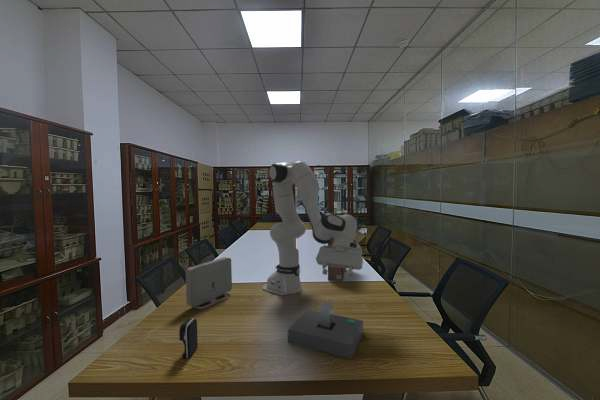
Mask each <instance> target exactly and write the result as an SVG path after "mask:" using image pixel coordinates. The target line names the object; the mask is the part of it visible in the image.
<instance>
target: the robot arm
mask: <svg viewBox="0 0 600 400" xmlns="http://www.w3.org/2000/svg"><path fill="white" fill-rule="evenodd" d="M268 175H269V178H270V180H271V181H272V182H273V184H272V192H273V201H274V202H273V203H274V207H275V213H277V214H278V215H279V216H280V219H281V220H282V221H279V222H277V223H275V224H273V225H272V226H271V228H270V230H269V236H270V238H271V240H272V241H273V242H274V243H275V244H276V246H277V250H278V261H279V264H277V265H276V266H275V269H276V271H275V272H273V273H271V274H270V275H269V276H268V277H267V279H266V283H265V284H264V285H263V286H262V290H263V291H265V292H269V293H272V294H276V295H279V296H286V295H292V294H297V293H301V291H302V290H303V287H302V283H301V278H300V273H301V269H300V268H301V267H300V266H301V265H300V255H299V253H300V252H299V249H298V248H296V246H295V242H294V240H297V239H299V238H301V237H302V236H303V235H304V234H305V233H306V230H307V229H306V228H307V227H306V224H305V223H304V221H302V220H301V218H300V216H299V214H298V212H297V208H296V205H295V200H294V198H295V197H294V192H293V184H294V186H295V187H296V189H297V191H298V194H299V196H300V199H301V202H302V205H303V208H304V211H305V213H306V216H307V218H308V221H309V223H310V226H311V231H312V237H313V239H314V240H315V241H316V242H317V243H319V244H322V245H321V246H320V247H319V250H318V252H317V255H316V257H315V261H316V263H317V265H320V266H321V267H322V275H325V276H326V275H327V276H328V266H333V267H341V268H346V269H348V270H346V272H344V278H346V279H349V276H350V275H351V273H353V270H356V271H360V270H361V269H363V264H364V258H363V249H362V247H361V245H360V244H358V243H356V242H355V241H354V240H355V238H356V234H357V231H358V221H357V219H356V218H355V217H354V216H353V215H351V214H349V213H348V214H346V213H345V214H343V215H340V214H335V213H333V212H325V213H324V214H322V215H321V213H320V210H319V207H318V199H319V193H320V183H319V181H318V179H317V177H316V174H315V173H314V172H313V170H312V168H311V167H310V166H309V165H308V164H307V163H306V161H302V160H299V161H284V162H276V163H275V162H274V163H272V164H271V165H270V167H269V169H268ZM333 237H334V242H333V245H332V246H328V243H329V242H330V241H331V240H332V238H333Z"/></svg>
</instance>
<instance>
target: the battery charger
mask: <svg viewBox="0 0 600 400" xmlns="http://www.w3.org/2000/svg"><path fill="white" fill-rule="evenodd" d="M178 336H179V337H178V338H179V341H181V342H182V343H183V344H184V346H183V347H184V352H183V353H182V355H181V356H182V358H183V359H185V358H186V359H189V358H191V357H192V356H193V354H194V353H195V351H196V350H197V349H198V345H199V344H198V343H199V342H198V320H197V318H187V319H186V320H185V321H183V322H182V324H181V325H180V326H179V334H178Z"/></svg>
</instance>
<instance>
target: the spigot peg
mask: <svg viewBox="0 0 600 400" xmlns="http://www.w3.org/2000/svg"><path fill="white" fill-rule="evenodd" d="M333 306H334V303H333V302H328V301H322V302H321V303H320V304H319V306H318V308H319V309H318V312H319V324H320V328H324V329H328V330H332V329H333V315H334V309H333V308H334V307H333Z"/></svg>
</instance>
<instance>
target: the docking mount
mask: <svg viewBox="0 0 600 400" xmlns="http://www.w3.org/2000/svg"><path fill="white" fill-rule="evenodd" d="M363 334H364V320H363V319H362V320H361V319H358V318H352V317H347V316H342V315H336V314H333V329H332V330H328V329H324V328H320V324H319V311H316V310H313V309H306V311H304V312H303V313H302V314H301V315H300V317H298V319H296V321H295V322H294V323H293V324H291V326H289V328H287V342H288V343H289V344H293V345H297V346H299V347H304V348H308V349H311V350H316V351H320V352H324V353H326V354H330V355H334V356H338V357H342V358H346V359H350V360H352V358H353V356H354V354H355V352H356V349H357V347H358V345H359V343H360V341H361V339H362V337H363Z"/></svg>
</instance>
